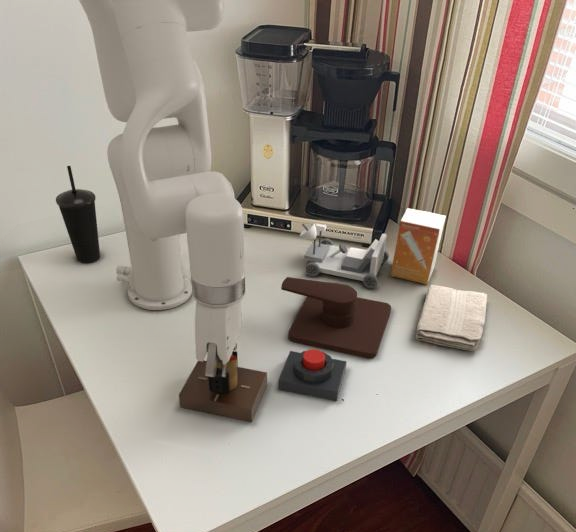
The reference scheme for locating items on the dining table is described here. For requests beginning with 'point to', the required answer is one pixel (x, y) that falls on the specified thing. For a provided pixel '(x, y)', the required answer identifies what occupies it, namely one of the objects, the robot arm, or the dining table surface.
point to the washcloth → (452, 318)
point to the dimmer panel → (231, 405)
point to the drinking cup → (80, 221)
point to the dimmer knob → (231, 371)
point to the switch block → (312, 377)
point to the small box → (417, 245)
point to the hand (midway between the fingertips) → (223, 379)
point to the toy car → (344, 257)
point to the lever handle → (337, 318)
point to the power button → (313, 359)
